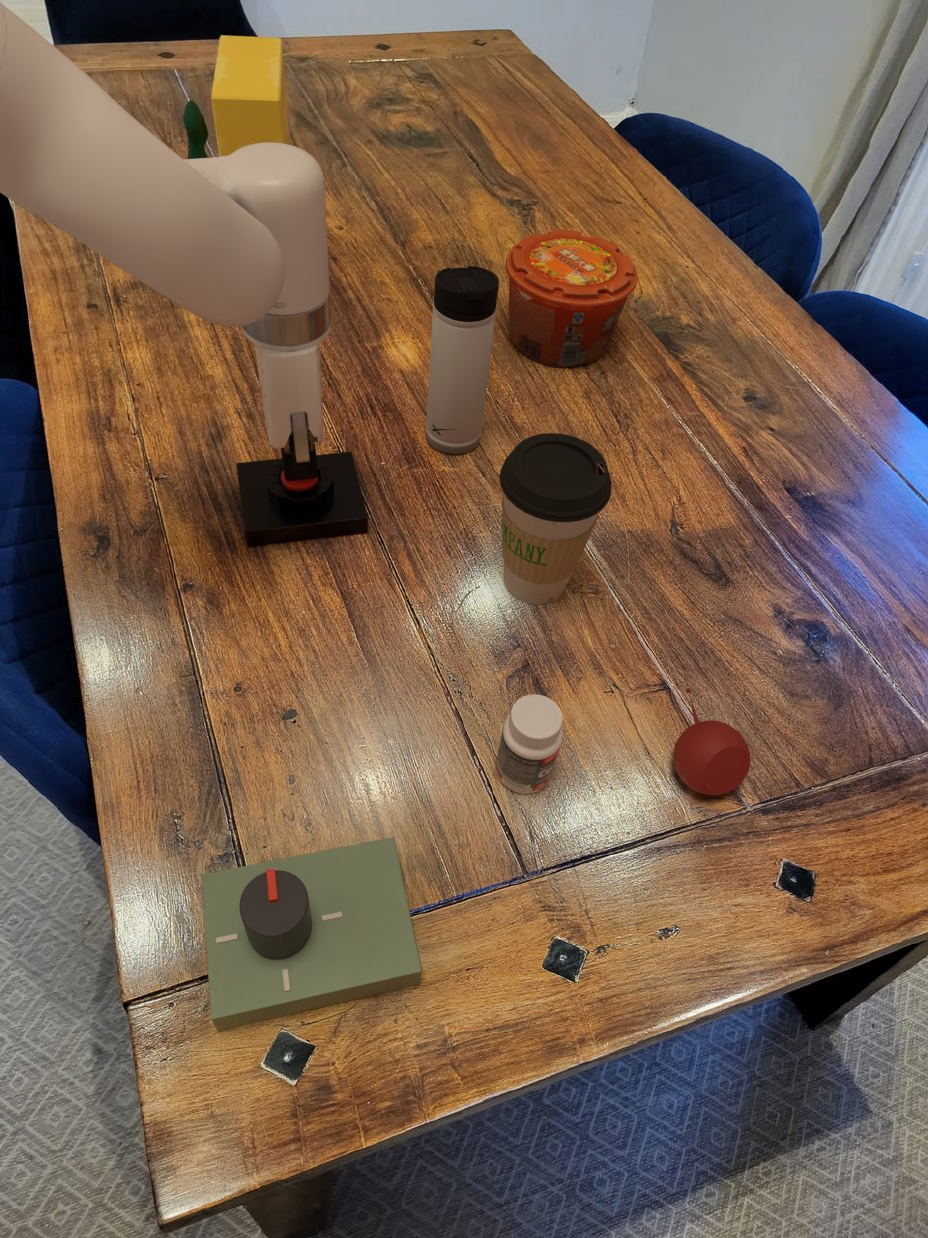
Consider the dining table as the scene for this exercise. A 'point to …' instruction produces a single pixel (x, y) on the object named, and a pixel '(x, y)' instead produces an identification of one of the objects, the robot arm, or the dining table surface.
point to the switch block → (301, 502)
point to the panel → (313, 936)
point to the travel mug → (460, 357)
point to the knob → (276, 914)
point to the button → (299, 483)
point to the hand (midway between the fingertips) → (300, 474)
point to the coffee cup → (549, 512)
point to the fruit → (711, 756)
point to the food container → (566, 296)
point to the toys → (243, 97)
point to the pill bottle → (529, 744)
